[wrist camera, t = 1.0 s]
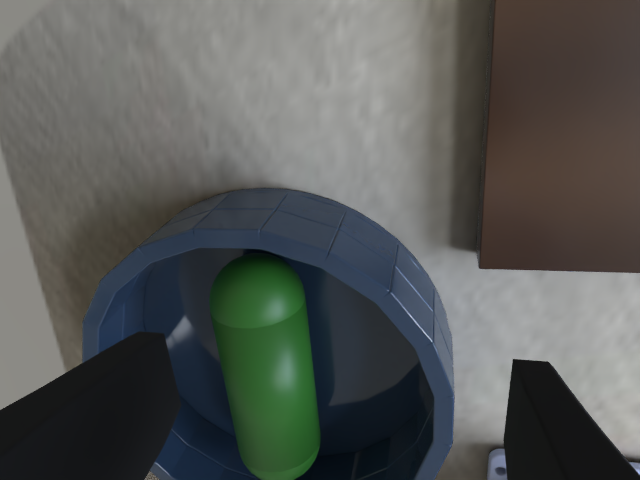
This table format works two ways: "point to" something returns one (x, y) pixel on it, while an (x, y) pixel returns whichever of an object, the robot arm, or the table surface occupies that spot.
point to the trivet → (561, 137)
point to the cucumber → (267, 364)
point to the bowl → (324, 328)
